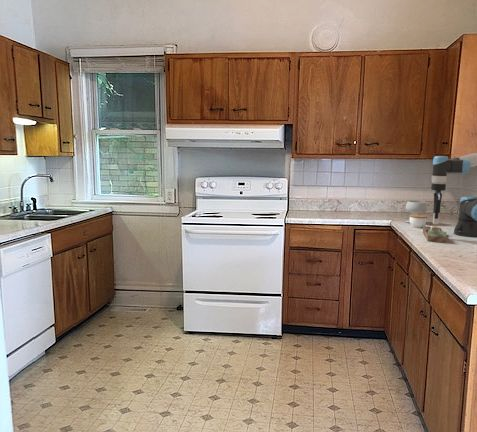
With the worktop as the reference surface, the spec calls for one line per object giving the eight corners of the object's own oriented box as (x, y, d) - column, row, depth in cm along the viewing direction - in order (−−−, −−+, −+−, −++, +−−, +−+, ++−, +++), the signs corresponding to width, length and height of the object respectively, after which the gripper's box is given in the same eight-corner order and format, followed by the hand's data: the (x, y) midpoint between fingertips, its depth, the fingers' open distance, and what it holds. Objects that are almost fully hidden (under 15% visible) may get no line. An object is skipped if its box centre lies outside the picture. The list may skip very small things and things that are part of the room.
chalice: (418, 225, 287) (420, 203, 285) (400, 221, 299) (402, 200, 297) (430, 223, 295) (432, 202, 293) (412, 220, 307) (414, 200, 304)
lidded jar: (411, 224, 288) (412, 211, 286) (428, 227, 281) (429, 213, 279) (406, 226, 279) (407, 212, 278) (423, 229, 273) (424, 214, 271)
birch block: (438, 234, 240) (439, 226, 239) (439, 235, 236) (440, 227, 235) (430, 233, 242) (430, 225, 241) (431, 235, 237) (431, 227, 237)
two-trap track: (438, 233, 258) (439, 224, 257) (445, 242, 232) (446, 231, 231) (422, 232, 260) (423, 223, 259) (427, 241, 235) (428, 230, 234)
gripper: (430, 182, 249) (427, 221, 252) (432, 183, 236) (429, 225, 240) (444, 182, 246) (441, 222, 250) (447, 184, 234) (444, 226, 238)
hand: (435, 223), depth 245 cm, fingers closed
